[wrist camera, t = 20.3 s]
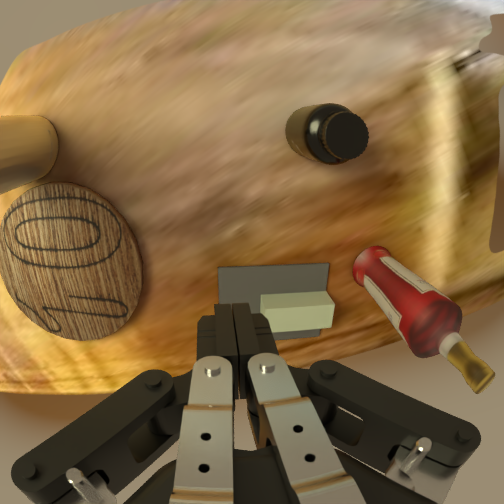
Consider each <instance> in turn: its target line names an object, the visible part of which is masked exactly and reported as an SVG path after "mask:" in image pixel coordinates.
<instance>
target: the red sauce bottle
mask: <svg viewBox="0 0 504 504" xmlns="http://www.w3.org/2000/svg"><path fill="white" fill-rule="evenodd" d="M353 277H354V280H355V281H356V283H357V284H359V285H360V286H362V287H365V288H366V290H367V291H368V292H369V293H370V295H371V296H372V297H373V298H374V300H375V301H376V302H377V304H378V305H379V306H380V307H381V309H382V310H383V311H384V313H385V314H386V316H387V317H388V319H389V320H390V321H391V323H392V324H393V326H394V327H395V329H396V330H397V331H398V333H399V334H400V335H401V337H402V338H403V339H404V341H405V342H406V343H407V345H408V346H409V348H410V349H411V350H412V352H413V353H414V354H415V355H416V356H417V357H420V358H427V357H432V356H435V355H437V354H441V355H443V356H444V357H445V358H446V359H447V360H448V361H449V362H450V363H452V364H453V365H454V366H455V367H456V368H457V369H458V370H459V371H460V372H461V373H462V375H463V377H464V378H465V381H466V382H467V384H468V385H469V386H470V387H471V388H472V390H473V391H474V392H475V393H476V394H479V393H481V392H483V391H484V390H485V389H486V388H487V387H488V386H489V385H490V384H491V382H492V381H493V379H494V377H495V372H494V371H493V370H492V369H491V368H490V367H489V366H488V365H487V364H486V363H485V362H484V361H482V360H481V359H479V358H478V357H477V356H475V354H474V353H473V352H472V350H471V349H470V348H469V346H468V345H467V344H466V343H465V341H464V340H463V339H462V338H461V336H460V335H459V334H458V333H459V330H460V326H461V322H462V311H461V309H460V307H459V306H458V305H457V304H456V303H454V302H453V301H452V300H450V299H449V298H448V297H446V296H445V295H444V294H442V293H441V292H440V291H438V290H437V289H436V288H435V287H433V286H432V285H430V284H429V283H427V282H426V281H425V280H423V279H422V278H420V277H419V276H417V275H416V274H414V273H413V272H411V271H410V270H409V269H407V268H406V267H405V266H403V265H402V264H400V263H399V262H398V261H396V260H395V259H394V258H392V257H391V255H390V253H389V251H388V250H387V249H385V248H384V247H381V246H373V247H369V248H367V249H366V250H364V251H363V252H362V253H361V254H360V255H359V256H358V257H357V259H356V261H355V263H354V266H353Z"/></svg>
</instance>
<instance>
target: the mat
mask: <svg viewBox="0 0 504 504" xmlns="http://www.w3.org/2000/svg"><path fill="white" fill-rule="evenodd" d="M328 269H329V263H312V264H288V265H262V266H235V267H218V285H219V304H229V303H231V309H232V303H249V306H250V310H251V314H253V313H260V304H261V295H265V294H284V293H302V292H319V291H326V285H327V277H328ZM272 334H273V337H274V340H284V339H296V338H306V337H316V336H319V334H320V329H310V330H299V331H286V332H272Z"/></svg>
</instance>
